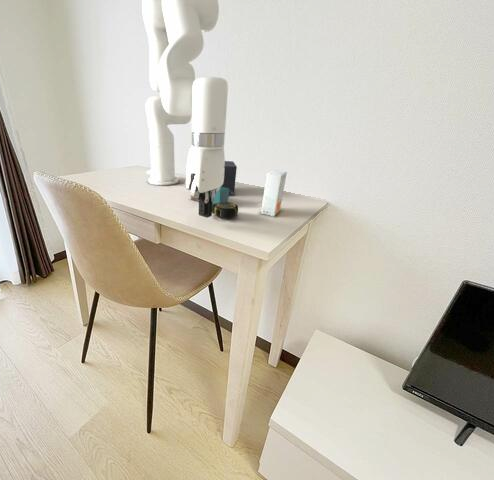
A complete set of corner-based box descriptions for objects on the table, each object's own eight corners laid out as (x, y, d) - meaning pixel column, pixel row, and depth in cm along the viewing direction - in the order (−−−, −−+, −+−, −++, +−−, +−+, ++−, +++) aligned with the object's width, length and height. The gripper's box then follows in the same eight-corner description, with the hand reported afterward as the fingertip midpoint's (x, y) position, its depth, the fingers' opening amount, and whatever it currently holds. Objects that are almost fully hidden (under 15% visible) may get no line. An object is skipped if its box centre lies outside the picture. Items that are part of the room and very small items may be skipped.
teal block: (206, 203, 85) (207, 188, 82) (215, 199, 88) (216, 185, 86) (219, 206, 82) (220, 191, 80) (228, 203, 85) (229, 188, 83)
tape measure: (231, 211, 78) (232, 200, 76) (241, 220, 72) (242, 207, 71) (210, 213, 76) (210, 201, 75) (218, 222, 70) (219, 209, 69)
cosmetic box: (274, 216, 75) (281, 175, 70) (260, 213, 77) (266, 173, 72) (280, 210, 80) (287, 171, 74) (266, 208, 82) (272, 169, 76)
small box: (235, 195, 93) (237, 166, 88) (216, 195, 93) (218, 165, 88) (231, 187, 102) (234, 160, 97) (215, 187, 102) (216, 160, 97)
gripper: (214, 137, 66) (210, 205, 75) (173, 142, 56) (174, 220, 64) (239, 140, 62) (232, 211, 70) (200, 145, 52) (197, 228, 60)
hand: (205, 215), depth 67 cm, fingers closed
